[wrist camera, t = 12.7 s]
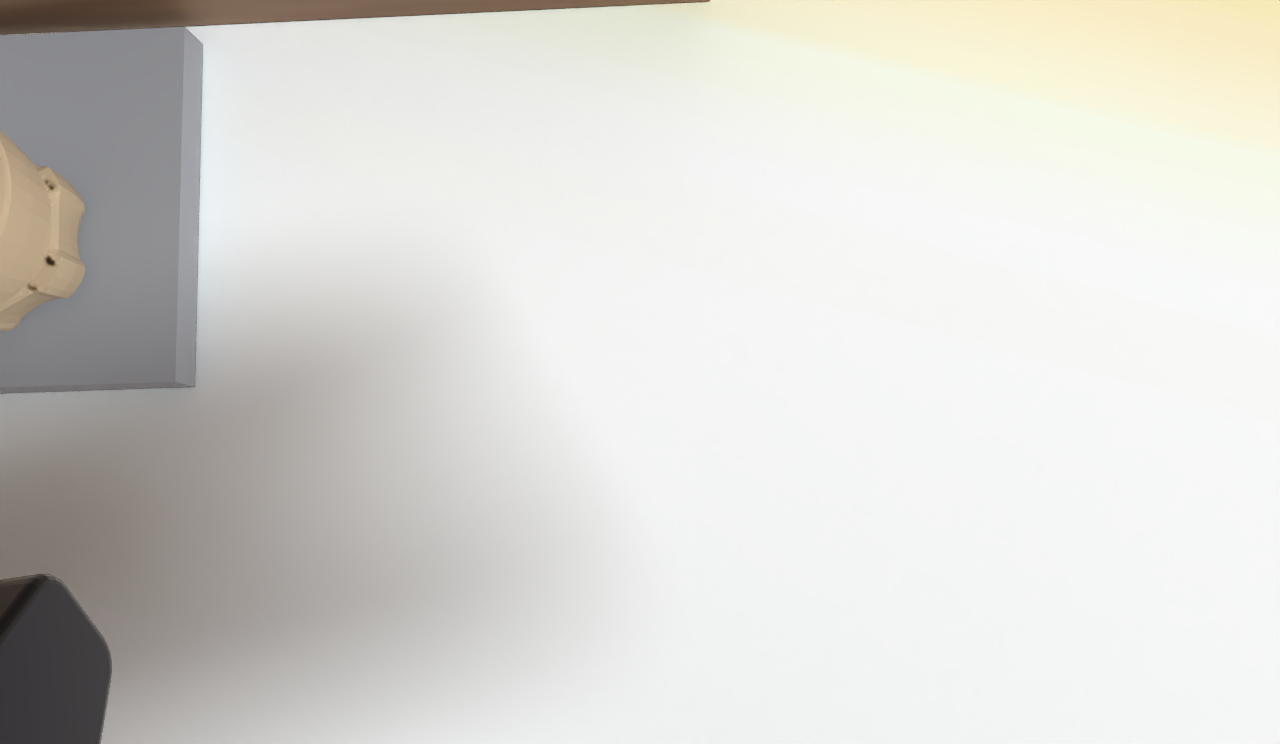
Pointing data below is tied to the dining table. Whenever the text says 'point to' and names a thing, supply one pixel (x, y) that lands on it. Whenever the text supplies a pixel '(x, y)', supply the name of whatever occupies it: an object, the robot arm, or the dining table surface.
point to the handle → (35, 235)
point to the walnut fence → (244, 11)
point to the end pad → (112, 204)
